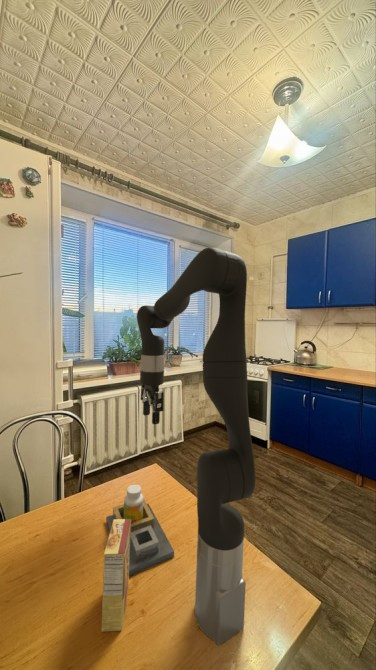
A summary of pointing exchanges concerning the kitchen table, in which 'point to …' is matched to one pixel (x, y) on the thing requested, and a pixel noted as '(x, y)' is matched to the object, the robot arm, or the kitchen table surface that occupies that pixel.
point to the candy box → (116, 575)
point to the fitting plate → (144, 540)
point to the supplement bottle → (133, 504)
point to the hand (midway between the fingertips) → (150, 419)
